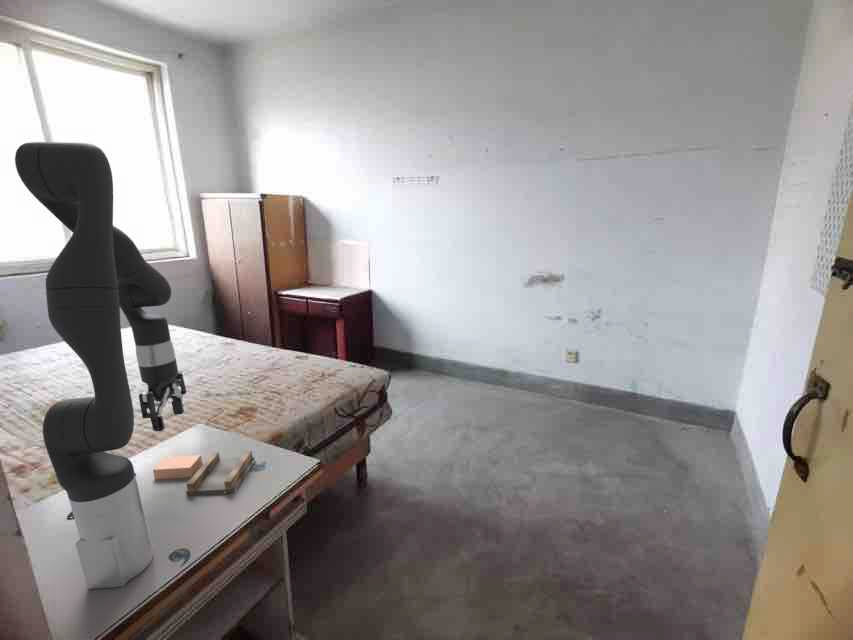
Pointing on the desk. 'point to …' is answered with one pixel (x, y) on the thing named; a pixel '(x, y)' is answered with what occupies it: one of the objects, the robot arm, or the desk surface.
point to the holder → (219, 474)
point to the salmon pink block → (177, 467)
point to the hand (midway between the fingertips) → (169, 421)
